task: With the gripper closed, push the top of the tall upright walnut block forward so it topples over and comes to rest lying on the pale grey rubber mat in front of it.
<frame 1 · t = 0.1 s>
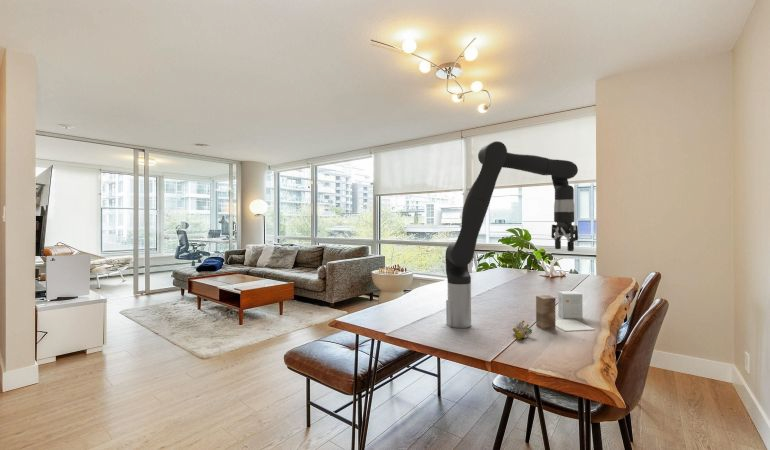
hand: (564, 250, 146), 29 cm above the table, fingers open, 8 cm apart
mat: (569, 325, 140), on the table
yellow-green lumpy cluster: (522, 335, 130), on the table
walnut block: (545, 327, 138), on the table
small box: (570, 317, 152), on the table
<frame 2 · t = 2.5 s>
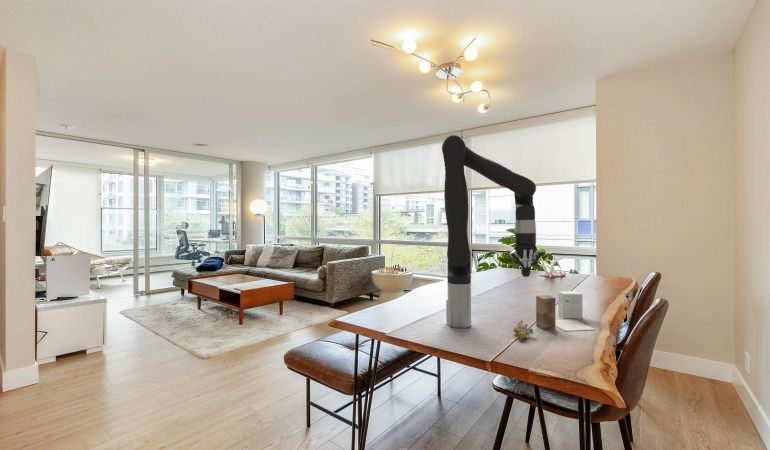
hand: (525, 276, 137), 20 cm above the table, fingers closed
nothing on the table moved.
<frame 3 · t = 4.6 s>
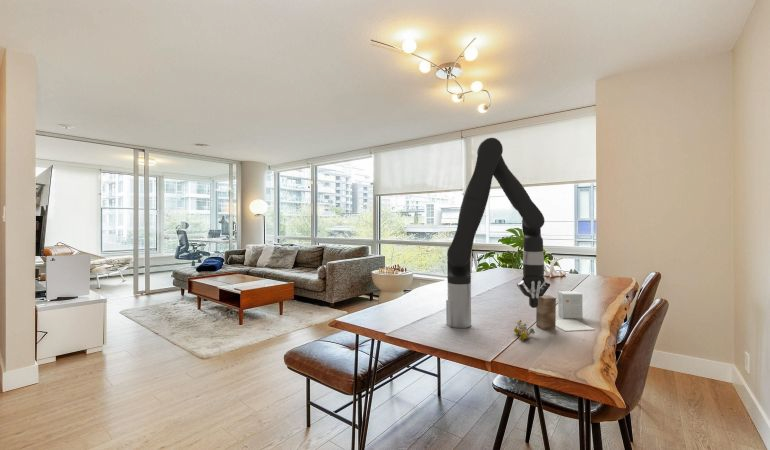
hand: (533, 307, 137), 8 cm above the table, fingers closed
walnut block: (545, 327, 138), on the table, touching gripper
everything else where it was.
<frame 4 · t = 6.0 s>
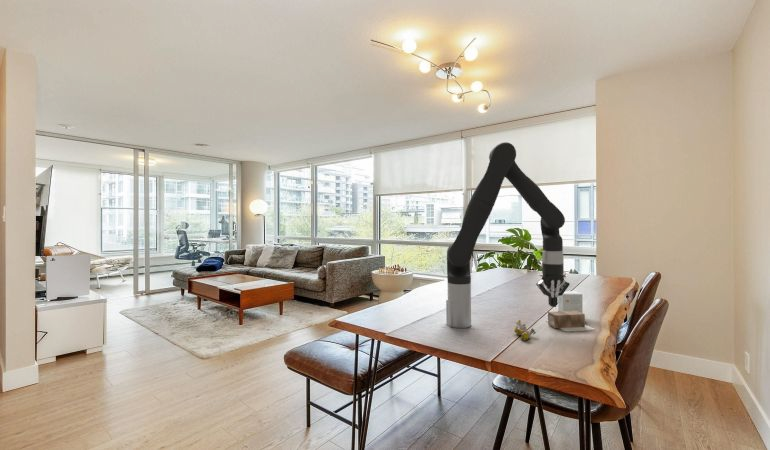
hand: (553, 306, 138), 8 cm above the table, fingers closed
walnut block: (551, 320, 138), point 3 cm above the table, tilted 90°, touching mat
everything else where it was.
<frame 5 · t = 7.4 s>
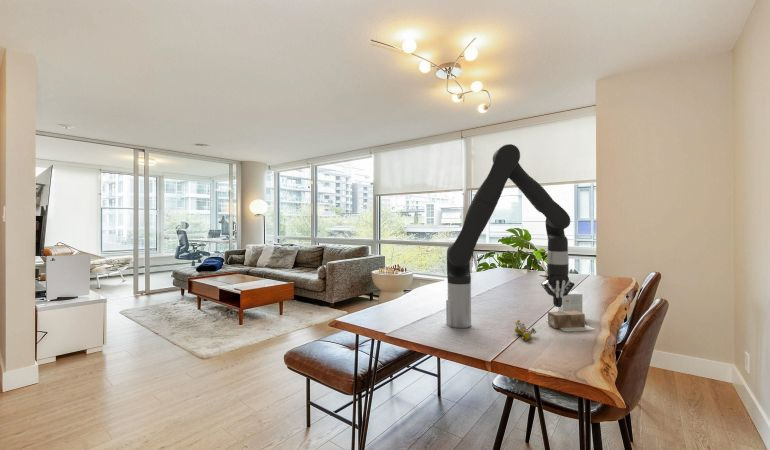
hand: (557, 306, 138), 8 cm above the table, fingers closed
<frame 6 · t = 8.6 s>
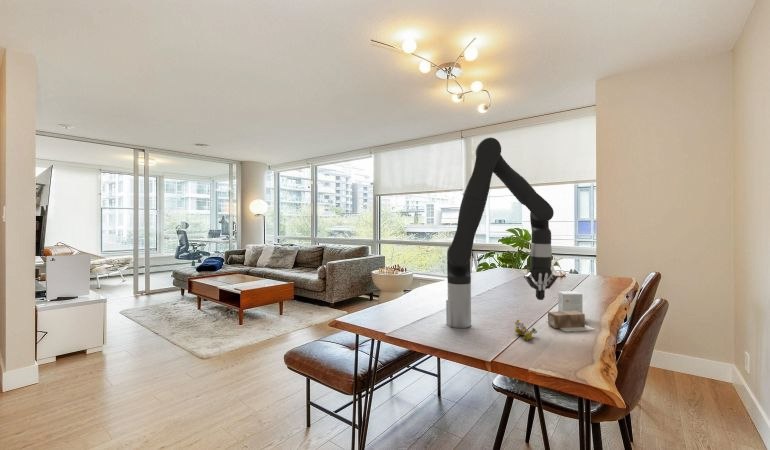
hand: (540, 299, 137), 11 cm above the table, fingers closed
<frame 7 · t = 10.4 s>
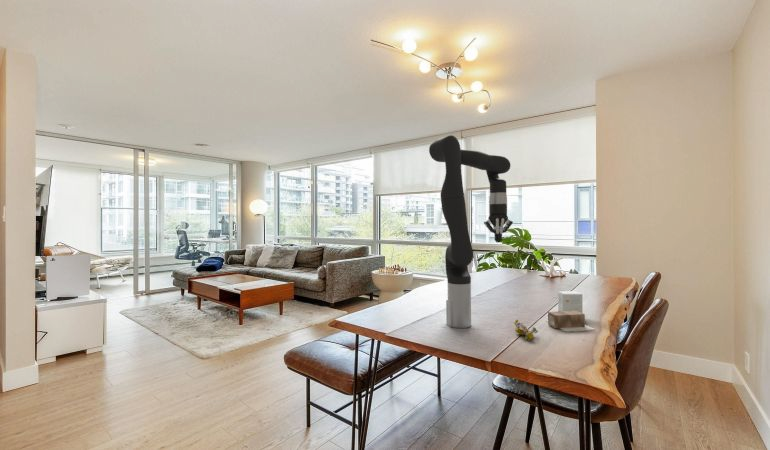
hand: (498, 242, 157), 32 cm above the table, fingers closed
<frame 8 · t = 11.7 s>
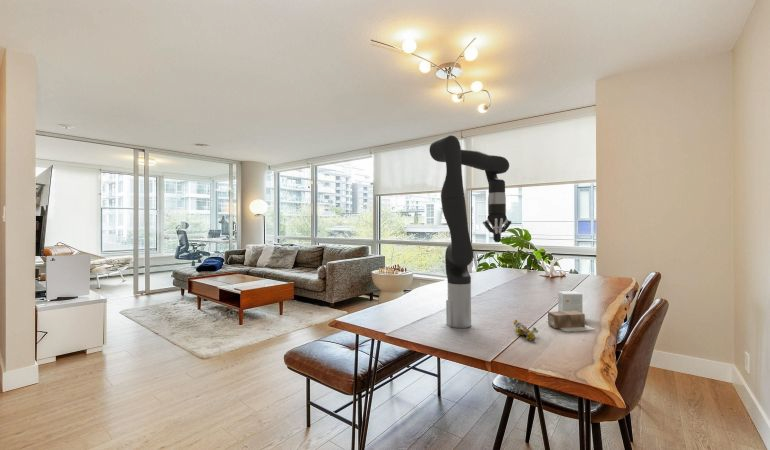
hand: (497, 241, 158), 32 cm above the table, fingers closed
at the end: walnut block tilted 90°; walnut block inside the target area (8.0 cm from its centre), point 2.8 cm above the table; the gripper is holding nothing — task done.
